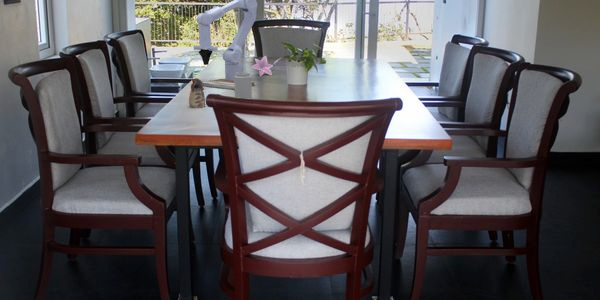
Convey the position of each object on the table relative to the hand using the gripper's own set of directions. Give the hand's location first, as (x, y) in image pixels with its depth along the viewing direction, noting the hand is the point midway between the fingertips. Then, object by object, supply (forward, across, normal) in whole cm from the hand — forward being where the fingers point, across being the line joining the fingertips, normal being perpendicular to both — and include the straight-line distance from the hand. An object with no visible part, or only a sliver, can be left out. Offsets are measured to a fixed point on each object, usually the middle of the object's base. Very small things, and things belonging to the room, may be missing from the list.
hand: (206, 64), depth 355 cm
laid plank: (+9, +15, +3) cm, 18 cm away
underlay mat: (+9, +15, -2) cm, 18 cm away
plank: (+9, +15, -5) cm, 18 cm away
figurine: (+10, +39, -49) cm, 63 cm away
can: (+10, +46, -27) cm, 54 cm away
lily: (+10, +7, +38) cm, 39 cm away
